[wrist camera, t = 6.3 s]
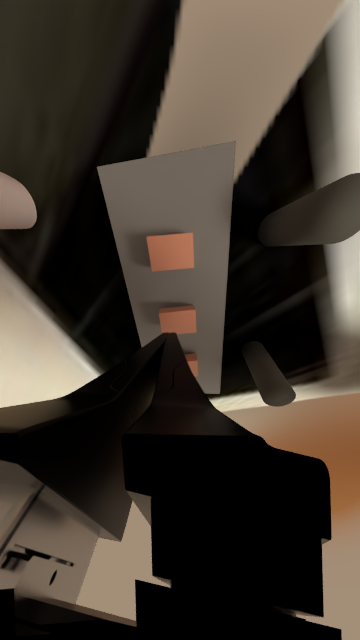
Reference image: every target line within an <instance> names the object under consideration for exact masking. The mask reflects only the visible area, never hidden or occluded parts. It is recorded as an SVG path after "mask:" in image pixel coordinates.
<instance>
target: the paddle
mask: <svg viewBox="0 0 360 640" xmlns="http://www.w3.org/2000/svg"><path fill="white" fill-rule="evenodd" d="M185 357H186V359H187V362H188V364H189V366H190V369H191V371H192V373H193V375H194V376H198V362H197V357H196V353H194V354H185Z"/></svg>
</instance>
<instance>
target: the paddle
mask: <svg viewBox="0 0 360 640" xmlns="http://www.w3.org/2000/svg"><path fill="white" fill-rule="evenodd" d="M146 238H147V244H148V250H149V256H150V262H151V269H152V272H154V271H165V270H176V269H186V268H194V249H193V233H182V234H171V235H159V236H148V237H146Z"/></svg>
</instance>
